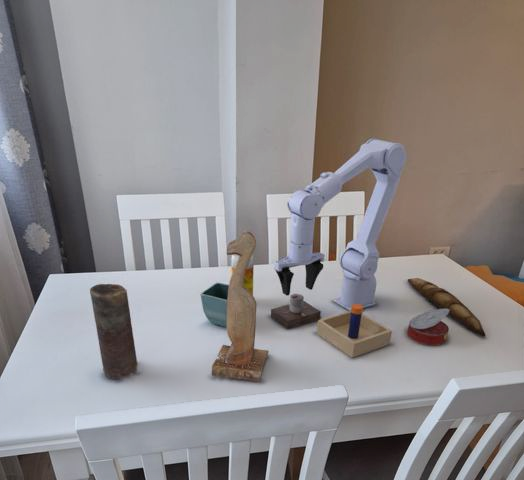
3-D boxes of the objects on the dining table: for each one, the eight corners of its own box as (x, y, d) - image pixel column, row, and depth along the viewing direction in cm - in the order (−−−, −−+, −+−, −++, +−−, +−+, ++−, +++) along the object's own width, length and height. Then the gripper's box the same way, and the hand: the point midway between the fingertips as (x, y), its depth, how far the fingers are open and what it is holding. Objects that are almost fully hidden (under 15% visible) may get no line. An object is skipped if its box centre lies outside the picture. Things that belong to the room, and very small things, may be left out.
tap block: (302, 308, 135) (303, 299, 134) (320, 319, 130) (321, 310, 128) (270, 317, 130) (271, 308, 129) (287, 329, 125) (288, 320, 123)
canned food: (427, 361, 122) (423, 337, 115) (401, 339, 129) (396, 315, 121) (461, 336, 123) (460, 310, 115) (434, 316, 130) (431, 291, 122)
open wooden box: (352, 322, 129) (354, 309, 127) (389, 344, 119) (392, 330, 117) (316, 333, 123) (318, 320, 121) (352, 358, 113) (354, 343, 111)
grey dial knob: (297, 306, 131) (298, 291, 129) (305, 311, 128) (306, 296, 126) (286, 308, 129) (287, 294, 127) (294, 314, 127) (295, 299, 124)
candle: (107, 361, 109) (93, 280, 98) (140, 361, 110) (129, 280, 99) (100, 381, 102) (85, 296, 92) (135, 380, 103) (123, 296, 93)
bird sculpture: (220, 351, 114) (217, 219, 97) (268, 355, 113) (274, 222, 97) (211, 378, 105) (206, 236, 88) (264, 382, 104) (269, 240, 87)
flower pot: (245, 318, 129) (246, 288, 124) (230, 332, 122) (230, 301, 117) (217, 311, 132) (216, 281, 127) (200, 325, 125) (199, 293, 120)
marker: (353, 332, 122) (357, 302, 118) (360, 337, 120) (365, 307, 116) (345, 335, 121) (349, 305, 117) (352, 340, 119) (357, 309, 115)
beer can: (250, 309, 134) (251, 258, 126) (229, 307, 135) (228, 256, 127) (254, 300, 139) (255, 251, 131) (234, 298, 140) (234, 249, 132)
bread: (400, 282, 153) (403, 268, 151) (413, 281, 155) (416, 266, 152) (476, 340, 122) (481, 323, 120) (492, 338, 124) (498, 321, 121)
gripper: (314, 232, 125) (310, 280, 132) (268, 241, 118) (266, 291, 125) (331, 240, 120) (326, 289, 127) (284, 249, 113) (281, 301, 120)
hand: (297, 291), depth 126 cm, fingers open, 7 cm apart
